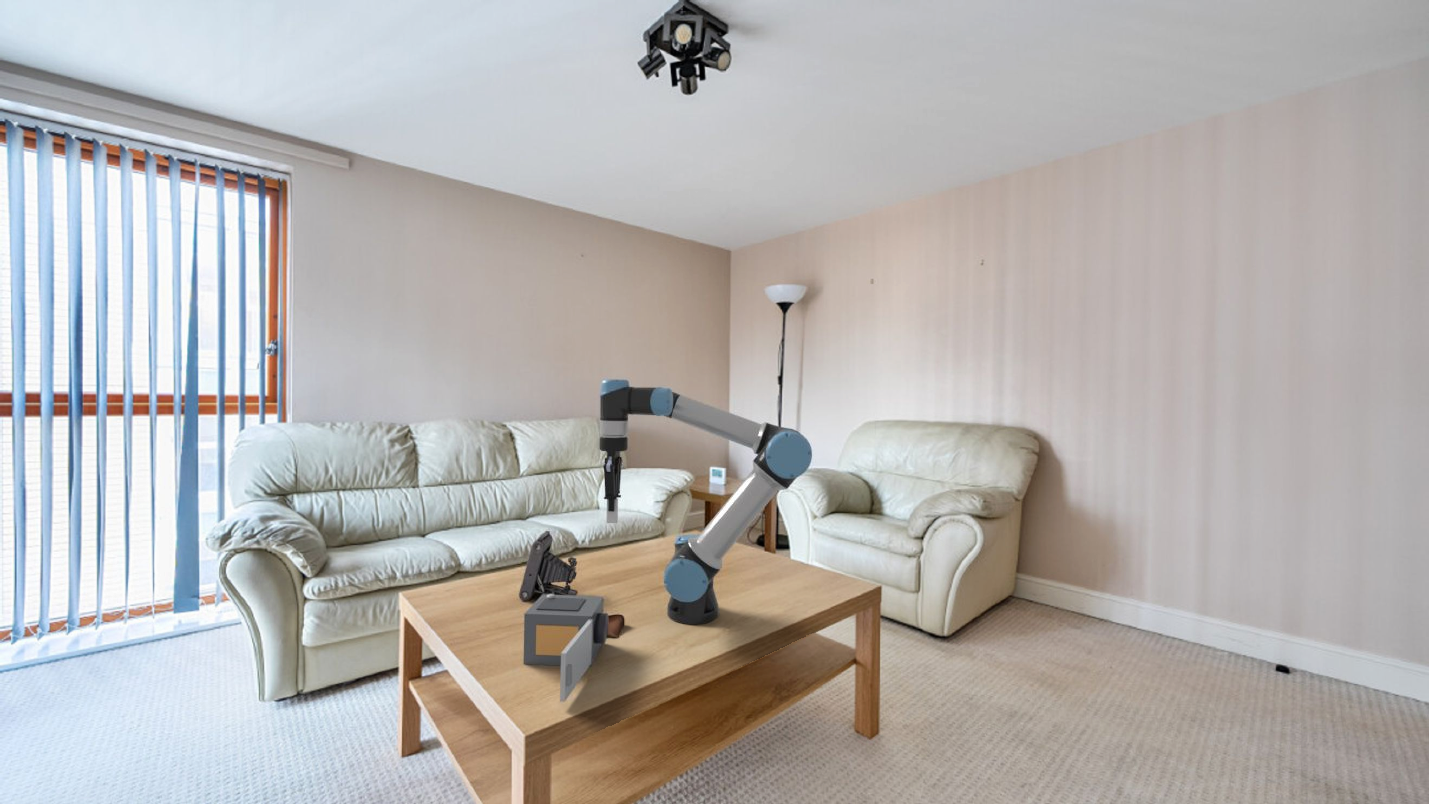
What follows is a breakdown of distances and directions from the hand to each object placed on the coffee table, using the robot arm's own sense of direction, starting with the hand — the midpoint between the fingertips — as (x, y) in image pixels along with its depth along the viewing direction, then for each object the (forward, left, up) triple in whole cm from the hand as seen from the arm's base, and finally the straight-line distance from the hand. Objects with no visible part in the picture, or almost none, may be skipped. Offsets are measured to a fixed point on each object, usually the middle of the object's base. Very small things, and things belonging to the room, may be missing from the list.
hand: (612, 522), depth 144 cm
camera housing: (+7, +14, -29) cm, 33 cm away
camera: (+24, -22, -30) cm, 44 cm away
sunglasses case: (+5, +1, -30) cm, 31 cm away
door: (0, +28, -28) cm, 40 cm away
